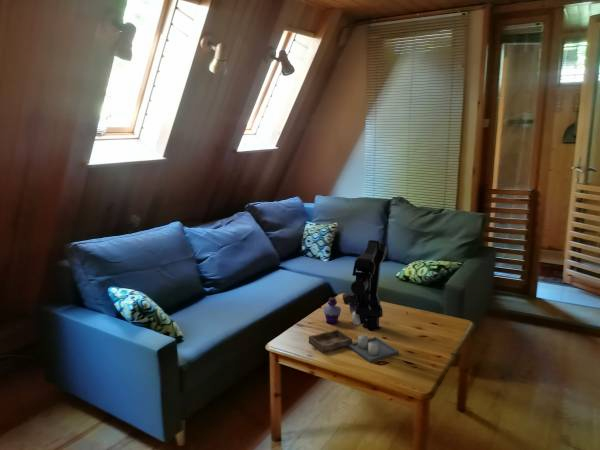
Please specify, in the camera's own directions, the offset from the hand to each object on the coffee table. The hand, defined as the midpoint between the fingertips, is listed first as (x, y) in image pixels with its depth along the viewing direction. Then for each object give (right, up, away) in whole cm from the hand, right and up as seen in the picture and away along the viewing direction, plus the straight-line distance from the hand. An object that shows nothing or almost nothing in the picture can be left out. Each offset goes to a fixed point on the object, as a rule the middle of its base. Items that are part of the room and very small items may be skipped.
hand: (361, 322), depth 195 cm
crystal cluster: (+5, -3, +41) cm, 41 cm away
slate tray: (+4, -12, -1) cm, 12 cm away
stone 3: (+4, -12, -6) cm, 14 cm away
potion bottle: (-11, -6, +27) cm, 30 cm away
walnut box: (-13, -10, +4) cm, 17 cm away
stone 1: (-2, 0, 0) cm, 2 cm away
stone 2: (0, -10, 0) cm, 10 cm away
